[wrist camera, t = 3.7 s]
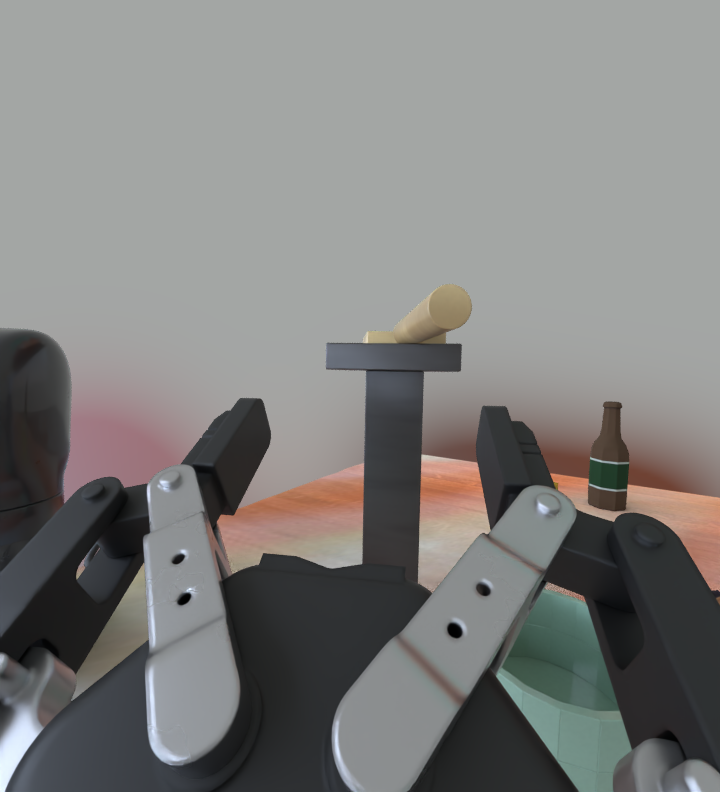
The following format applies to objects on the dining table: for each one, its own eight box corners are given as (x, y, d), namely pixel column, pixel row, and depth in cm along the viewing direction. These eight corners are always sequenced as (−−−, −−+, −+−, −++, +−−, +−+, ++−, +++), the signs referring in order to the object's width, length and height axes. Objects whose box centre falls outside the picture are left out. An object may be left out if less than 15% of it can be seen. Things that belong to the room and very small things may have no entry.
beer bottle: (618, 514, 78) (626, 404, 76) (580, 503, 84) (586, 401, 83) (632, 507, 82) (639, 402, 81) (594, 497, 89) (600, 400, 87)
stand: (347, 632, 41) (352, 351, 39) (436, 643, 40) (446, 352, 38) (321, 737, 29) (325, 342, 27) (447, 758, 28) (461, 343, 26)
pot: (429, 708, 32) (431, 622, 31) (516, 639, 41) (519, 570, 40) (618, 900, 20) (627, 770, 20) (684, 746, 29) (692, 653, 29)
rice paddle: (362, 350, 36) (363, 328, 36) (426, 351, 37) (426, 330, 37) (383, 328, 17) (384, 281, 17) (514, 330, 18) (516, 285, 18)
